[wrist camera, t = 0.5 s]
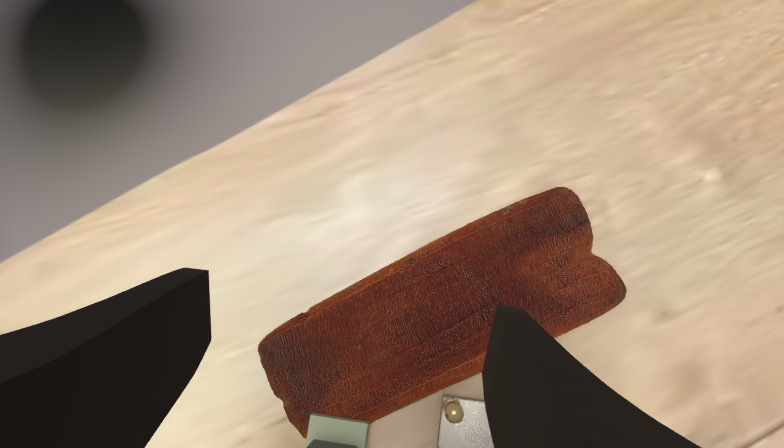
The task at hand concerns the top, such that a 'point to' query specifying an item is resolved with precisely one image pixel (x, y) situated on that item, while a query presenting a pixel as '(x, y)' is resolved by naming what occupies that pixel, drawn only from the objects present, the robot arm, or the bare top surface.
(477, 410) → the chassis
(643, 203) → the top surface
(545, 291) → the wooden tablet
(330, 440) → the green grey stepped block
